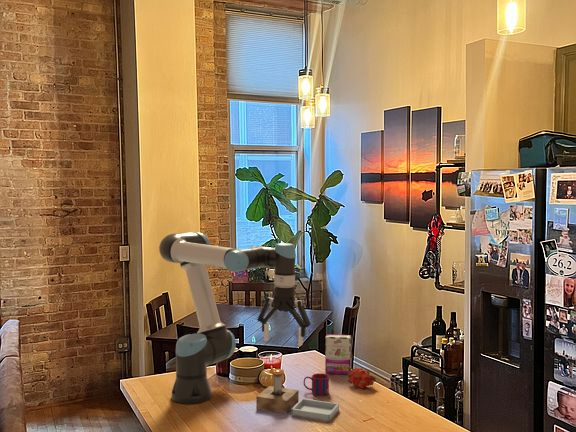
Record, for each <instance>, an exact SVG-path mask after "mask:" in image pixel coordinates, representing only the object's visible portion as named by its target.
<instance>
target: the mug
mask: <svg viewBox="0 0 576 432" xmlns="http://www.w3.org/2000/svg"><path fill="white" fill-rule="evenodd" d="M306 379H310V380H311V387H308V386H307V385H306ZM303 386H304V388H306V390H309V391H311V394H312V395H314V396H318V397H324V396H325V397H326V396H327V395H329V393H330V375H329V374H326V373H313V374H312V376H305V377H304V379H303Z"/></svg>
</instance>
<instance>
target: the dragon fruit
mask: <svg viewBox="0 0 576 432" xmlns="http://www.w3.org/2000/svg"><path fill="white" fill-rule="evenodd" d="M370 373H371V372H370V371H369V370H366V368H365V369H364V368H362V367H361V368H359V367H354V368H351V371H350V372H349V374H348V375H346V376H347V382H348V383H349V384H352V385H354V387H355V389H358V388H361V389H364V390H369V389H370V387H369V386H373V385H374V382H377V379H376V377H375V376H374V375H372V374H370Z"/></svg>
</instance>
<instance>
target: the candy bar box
mask: <svg viewBox="0 0 576 432" xmlns="http://www.w3.org/2000/svg"><path fill="white" fill-rule="evenodd" d="M324 341H325V344H324V345H325V351H324V354H325V358H324V359H325V360H324V361H325V362H324V363H325V369H324V371H325V373H324V374H327V375H341V376H342V375H345V376H347V375H348V374H349V372H350V371H351V369H352V335H351V334H350V335H348V334H326V335H325V340H324Z"/></svg>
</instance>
